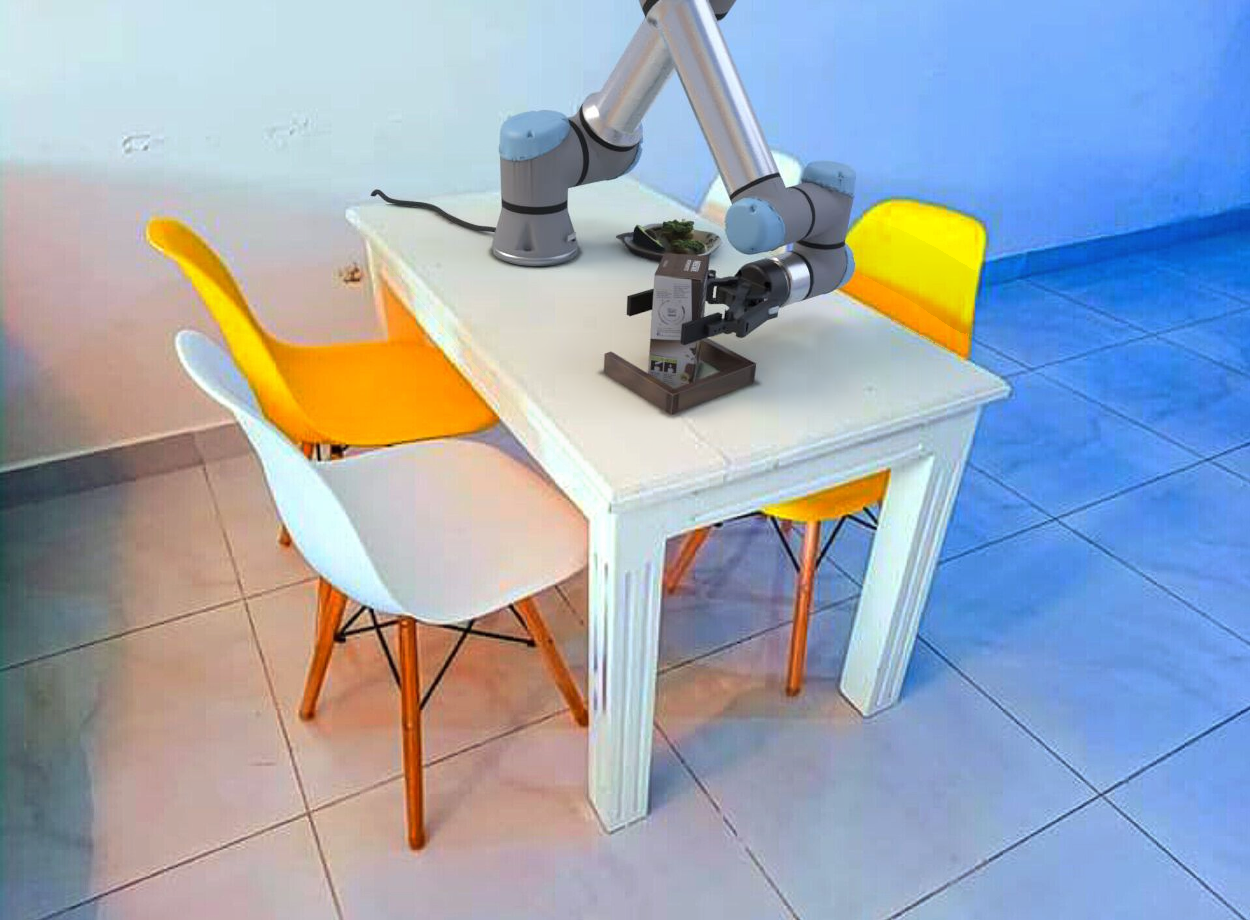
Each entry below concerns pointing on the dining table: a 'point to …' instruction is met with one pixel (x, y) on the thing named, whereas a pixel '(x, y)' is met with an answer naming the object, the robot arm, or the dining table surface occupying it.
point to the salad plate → (669, 240)
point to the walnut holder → (675, 400)
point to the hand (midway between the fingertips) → (655, 320)
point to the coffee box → (676, 317)
